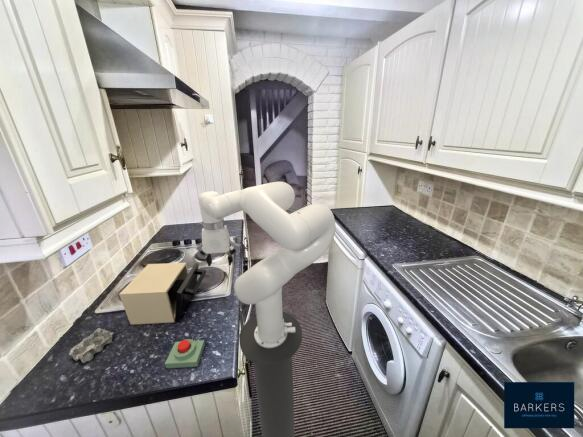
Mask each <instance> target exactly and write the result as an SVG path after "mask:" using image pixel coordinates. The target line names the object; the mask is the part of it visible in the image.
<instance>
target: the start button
mask: <svg viewBox="0 0 583 437" xmlns="http://www.w3.org/2000/svg"><path fill="white" fill-rule="evenodd" d="M179 342H180V343H179V344H178V350H179V352H180V353H185V352H187V351H188V350H189V349H190V342H189V341H188V340H185V339H183V340H181V341H179Z"/></svg>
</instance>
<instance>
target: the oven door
mask: <svg viewBox="0 0 583 437" xmlns="http://www.w3.org/2000/svg"><path fill="white" fill-rule="evenodd" d="M199 265H200V264H199V263H197V262H195V263H194V264H193V266H192V267H191V269H190V271H188V273H189V274H188V275H187V277H186V279H185V280H184V282H183V283H182V285H181V287H180V288H179V290H178V291H177V299H176V313H175V322H174V323H180V321H181V319H182V317H183V315H184V313H185V312H186V309H187V307H188V305H189V304H190V302H191V300H192V298H193V297H194V296H195V295H196V293H197V291H198V290H199V288H200V285H201V283H202V282H203V280H204V278H205V277H206V274H207V270H206V269H199ZM198 275H199V276H198Z"/></svg>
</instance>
